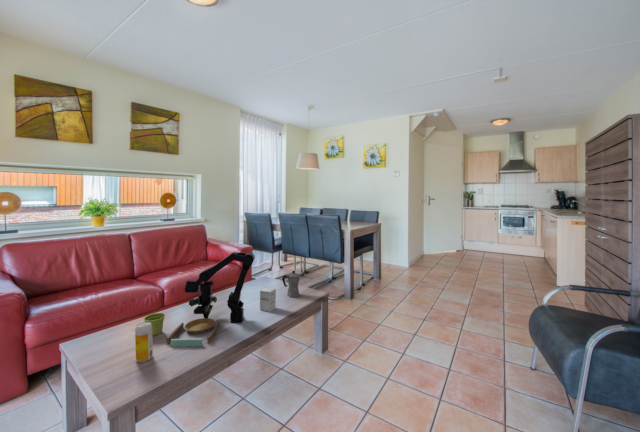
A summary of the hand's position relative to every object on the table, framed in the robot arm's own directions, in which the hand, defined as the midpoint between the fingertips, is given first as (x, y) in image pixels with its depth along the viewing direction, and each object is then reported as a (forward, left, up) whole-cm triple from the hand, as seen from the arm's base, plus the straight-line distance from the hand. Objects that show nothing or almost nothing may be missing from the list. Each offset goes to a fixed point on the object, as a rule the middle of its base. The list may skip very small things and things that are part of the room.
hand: (206, 319), depth 153 cm
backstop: (0, +25, -1) cm, 25 cm away
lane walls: (0, +16, -1) cm, 16 cm away
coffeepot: (-46, -41, -1) cm, 62 cm away
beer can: (+13, +35, -1) cm, 38 cm away
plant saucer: (0, +8, -1) cm, 9 cm away
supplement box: (-32, -17, -1) cm, 36 cm away
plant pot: (+21, +13, -1) cm, 25 cm away
